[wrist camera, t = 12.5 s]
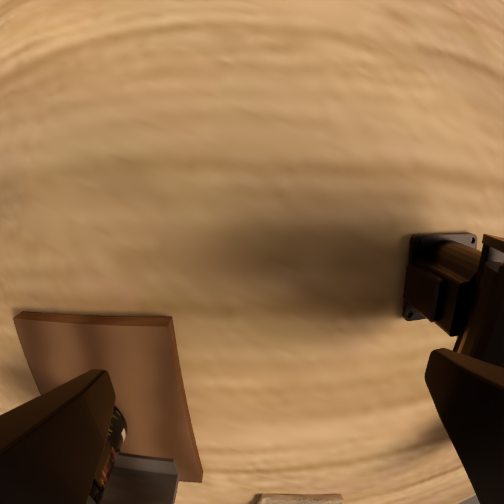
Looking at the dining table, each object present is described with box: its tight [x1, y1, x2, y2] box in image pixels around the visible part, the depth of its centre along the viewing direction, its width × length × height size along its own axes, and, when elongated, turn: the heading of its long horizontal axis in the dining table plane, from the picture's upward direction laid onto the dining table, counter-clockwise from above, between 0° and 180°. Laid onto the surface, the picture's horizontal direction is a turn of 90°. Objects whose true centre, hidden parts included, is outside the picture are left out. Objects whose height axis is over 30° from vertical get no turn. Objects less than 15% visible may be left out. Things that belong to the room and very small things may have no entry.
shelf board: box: [13, 311, 203, 504], centre depth 17 cm, size 14×18×12 cm
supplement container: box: [86, 405, 128, 504], centre depth 17 cm, size 6×6×9 cm
